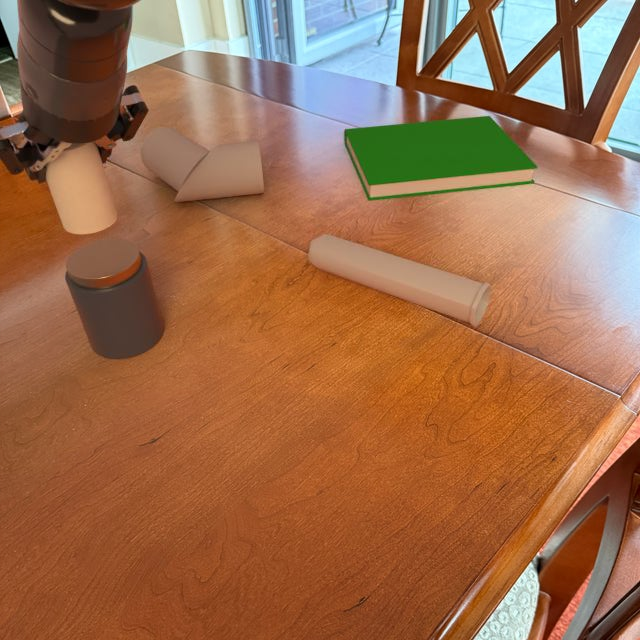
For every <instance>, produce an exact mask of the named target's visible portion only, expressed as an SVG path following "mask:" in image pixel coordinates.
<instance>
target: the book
mask: <svg viewBox="0 0 640 640" xmlns="http://www.w3.org/2000/svg"><path fill="white" fill-rule="evenodd" d="M343 135H344V136H343V139H344V140H343V141H344V146H345V148H346V150H347V153H348V155H349V157H350V160H351V162H352V165H353V168H354V169H355V172H356V174H357V177H358V179H359V181H360V184H361V186H362V188H363V191H364V193H365V195H366V198H367V200H368V201H377V200H388V199H398V198H406V197H415V196H427V195H435V194H445V193H453V192H463V191H464V192H465V191H472V190H473V191H474V190H483V189H492V188H503V187H511V186H512V187H513V186H519V185H520V186H522V185H531V184H535V180H533V176H534V172H535V170H536V169H538V165H537V164H536V163H535V162H534V161H533V160H532V159H531V158H530V157H529V156H528V155H527V153H525V152H524V150H523V149H522V148H521V147H520V146H519V145H518V144H517V142H515V141H514V140H513V138H511V137H510V135H508V134H507V132H506V131H505V130H504V129H503V128H502V127H501V126H500V124H498V122H496V121H495V120H494V118H492V117H491V115H483V116H473V117H461V118H451V119H450V118H449V119H439V120H428V121H419V122H417V121H416V122H408V123H407V122H405V123H397V124H386V125H376V126H364V127H363V126H362V127H352V128H345V129H344V132H343Z"/></svg>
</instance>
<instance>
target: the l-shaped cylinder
mask: <svg viewBox="0 0 640 640" xmlns="http://www.w3.org/2000/svg"><path fill="white" fill-rule="evenodd" d="M140 158H141V160H142V163H143V165H144V167H145V168H146V169H147V170H148V171H150V172H151V173H152V174H154V175H155V176H157V177H158V178H159V179H160V180H162V181H163V182H164V183H166V184H167V185H168V186H170V187H171V188H173V189H174V190H175V191H176V192H177V194H176V195H175V197H174V201H173V202H174V203H182V202H184V203H185V202H191V201H194V202H195V201H202V200H212V199H221V198H231V197H240V196H241V197H242V196H251V195H259V194H260V195H261V194H265V182H264V174H263V166H262V165H263V164H262V157H261V149H260V143H259V140H251V141H243V142H242V141H241V142H232V143H231V142H230V143H219V144H216V145H215V146H214V147H213V148H211V150H209V149H208V148H206V147H204V146H202V145H201V144H199V143H198V142H196V141H194V140H192V139H191V138H189V136H186V135H184V134H183V133H182V132H180V131H178V130H177V129H175V128H173V127H170V126H158V127H155V128H154V129H152V130H151V131H149V132H148V133H147V134H146V136H145V137H144V139H143V140H142V142H141V146H140Z"/></svg>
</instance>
